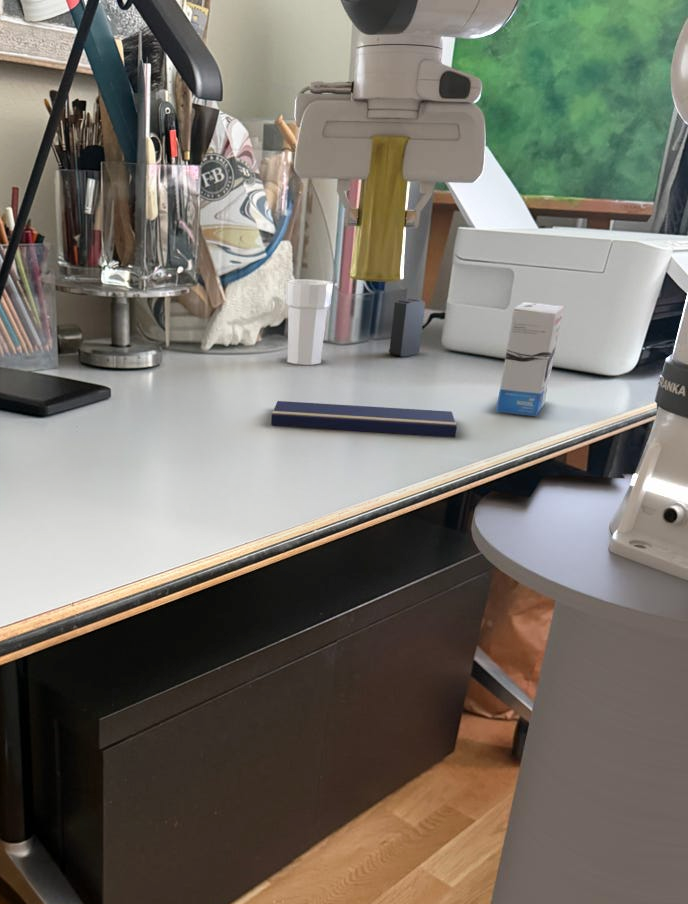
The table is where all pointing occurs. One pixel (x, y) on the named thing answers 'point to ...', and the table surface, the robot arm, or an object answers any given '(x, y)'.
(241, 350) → the table surface
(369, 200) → the vase
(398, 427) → the navy blue flat box
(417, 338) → the ink cartridge
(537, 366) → the ink box
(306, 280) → the cup
